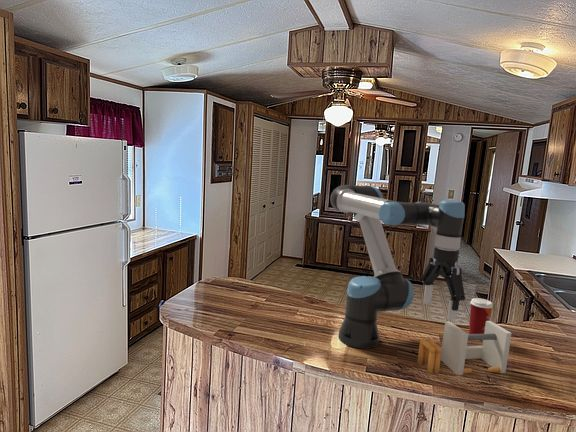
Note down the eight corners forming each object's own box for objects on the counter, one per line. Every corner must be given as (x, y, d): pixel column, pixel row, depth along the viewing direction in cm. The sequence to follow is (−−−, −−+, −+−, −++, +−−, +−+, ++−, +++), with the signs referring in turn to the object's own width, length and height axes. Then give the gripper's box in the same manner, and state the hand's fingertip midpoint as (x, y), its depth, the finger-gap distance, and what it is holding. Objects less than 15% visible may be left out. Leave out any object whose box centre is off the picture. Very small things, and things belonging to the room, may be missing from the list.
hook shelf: (457, 375, 129) (463, 334, 127) (437, 357, 140) (442, 319, 138) (505, 373, 132) (511, 333, 130) (481, 356, 143) (487, 319, 142)
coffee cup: (490, 342, 155) (496, 306, 153) (468, 339, 157) (473, 303, 155) (484, 333, 164) (489, 299, 162) (463, 330, 165) (468, 296, 163)
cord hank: (439, 373, 129) (443, 348, 128) (428, 374, 128) (432, 348, 127) (426, 361, 136) (430, 337, 135) (416, 362, 135) (419, 337, 134)
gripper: (483, 258, 117) (474, 326, 120) (434, 240, 141) (427, 297, 144) (461, 258, 116) (452, 327, 119) (415, 239, 140) (408, 297, 143)
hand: (438, 311), depth 131 cm, fingers open, 13 cm apart
